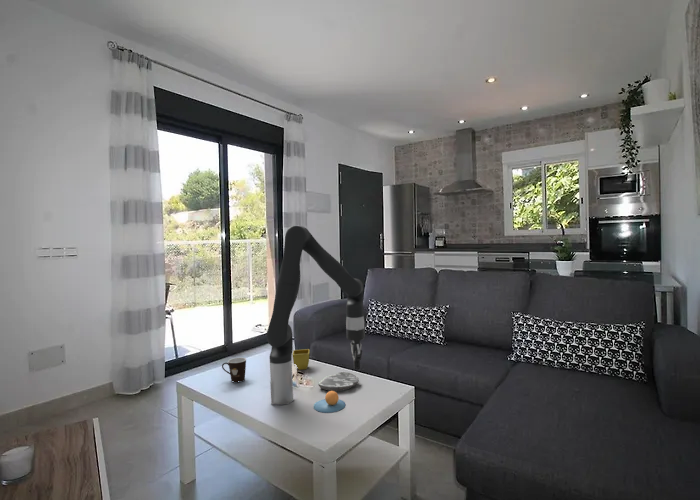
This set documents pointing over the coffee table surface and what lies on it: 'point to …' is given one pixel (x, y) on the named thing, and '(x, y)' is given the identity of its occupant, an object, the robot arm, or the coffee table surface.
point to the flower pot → (301, 358)
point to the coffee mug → (236, 369)
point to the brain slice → (338, 382)
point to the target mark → (328, 406)
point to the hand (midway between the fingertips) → (357, 368)
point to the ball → (331, 398)
